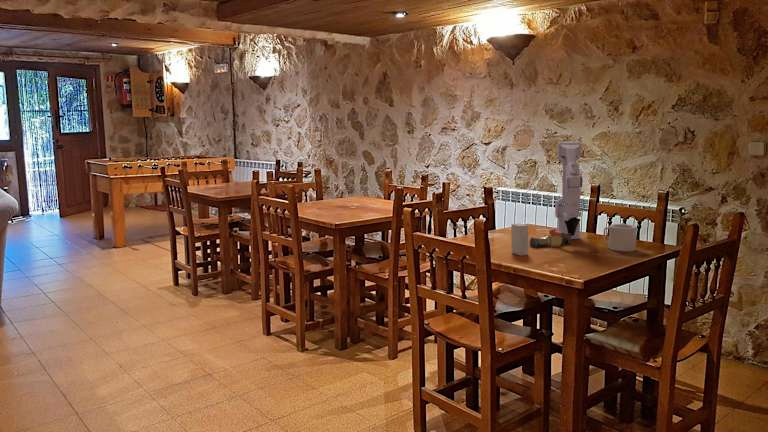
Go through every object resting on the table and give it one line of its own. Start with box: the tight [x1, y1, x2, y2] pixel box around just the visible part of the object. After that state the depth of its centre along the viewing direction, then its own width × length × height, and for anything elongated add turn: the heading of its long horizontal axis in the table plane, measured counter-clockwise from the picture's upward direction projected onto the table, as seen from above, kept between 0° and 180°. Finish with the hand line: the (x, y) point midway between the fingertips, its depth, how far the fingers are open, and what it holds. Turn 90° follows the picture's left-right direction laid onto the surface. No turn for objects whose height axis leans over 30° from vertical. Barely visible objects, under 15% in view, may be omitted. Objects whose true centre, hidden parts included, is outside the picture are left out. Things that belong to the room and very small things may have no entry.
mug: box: [602, 223, 638, 253], centre depth 257 cm, size 14×11×10 cm
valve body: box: [542, 233, 563, 247], centre depth 265 cm, size 7×5×5 cm
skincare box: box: [511, 223, 529, 256], centre depth 248 cm, size 6×4×12 cm
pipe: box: [529, 236, 572, 249], centre depth 265 cm, size 18×5×5 cm, turn 112°
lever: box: [548, 228, 571, 239], centre depth 260 cm, size 12×3×2 cm, turn 22°
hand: (571, 235), depth 259 cm, fingers closed
